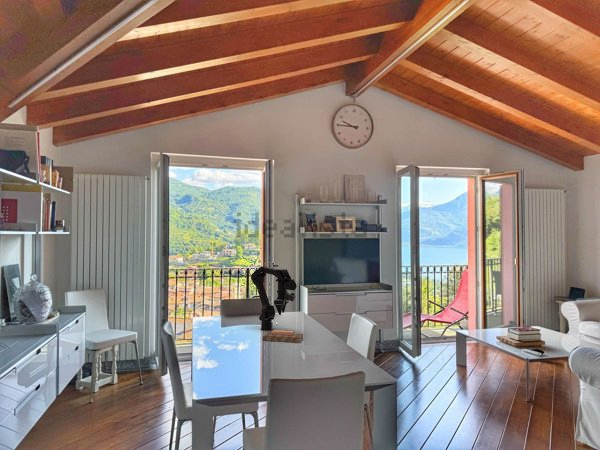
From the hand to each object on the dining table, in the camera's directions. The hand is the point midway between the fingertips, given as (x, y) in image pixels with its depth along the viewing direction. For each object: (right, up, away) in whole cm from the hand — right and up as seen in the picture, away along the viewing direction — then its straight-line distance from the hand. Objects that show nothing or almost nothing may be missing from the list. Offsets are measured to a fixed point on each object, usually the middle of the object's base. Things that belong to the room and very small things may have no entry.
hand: (281, 313), depth 257 cm
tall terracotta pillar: (+2, -11, -18) cm, 21 cm away
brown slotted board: (+2, -11, -18) cm, 21 cm away
